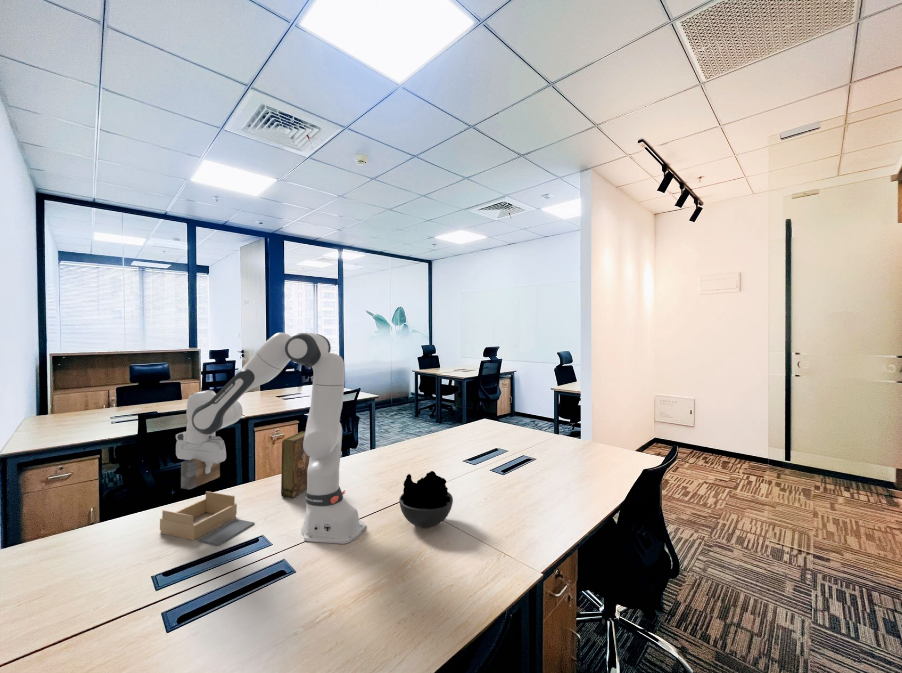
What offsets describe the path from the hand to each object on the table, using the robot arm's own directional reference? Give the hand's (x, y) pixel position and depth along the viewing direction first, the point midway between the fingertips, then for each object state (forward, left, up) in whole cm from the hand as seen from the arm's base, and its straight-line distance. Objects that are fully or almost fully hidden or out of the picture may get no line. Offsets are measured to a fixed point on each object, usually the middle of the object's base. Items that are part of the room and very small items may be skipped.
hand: (201, 472), depth 136 cm
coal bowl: (-79, -26, -20) cm, 85 cm away
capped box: (0, 0, -4) cm, 4 cm away
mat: (-14, +1, -19) cm, 24 cm away
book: (-14, -36, -20) cm, 43 cm away
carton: (0, 0, -19) cm, 19 cm away
